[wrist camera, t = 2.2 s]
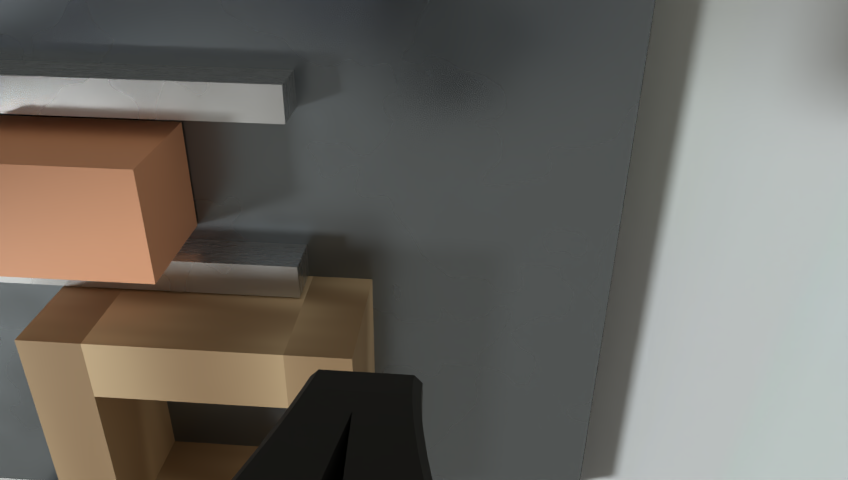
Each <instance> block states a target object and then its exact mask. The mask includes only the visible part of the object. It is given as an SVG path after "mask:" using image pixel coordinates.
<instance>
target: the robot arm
mask: <svg viewBox="0 0 848 480" xmlns="http://www.w3.org/2000/svg"><path fill="white" fill-rule="evenodd" d="M422 399H423V383H422V382H421V381H420V380H419V379H418V378H417V377H416V376H415V375H406V374H389V373H372V372H355V371H338V370H321V369H319V370H317V371H316V372H315V373H314V374H312V375H311V376H310V377H309V379H308V380H307V382H306V383H305V385H304V386H303V388H302V389H301V390H300V392H299V393H298V395H297V396H296V397H295V399H294V400H293V402H292V403H291V404H290V406H289V407H288V409H287V410H286V411H285V413H284V414H283V415H282V417H281V418H280V419H279V421H278V422H277V423H276V425H275V426H274V427H273V429H272V430H271V431H270V432H269V434H268V435H267V436H266V438H265V439H264V440H263V442H262V443H261V444H260V445H259V447H258V448H257V449H256V450H255V452H254V453H253V454H252V455H251V456H250V458H249V459H248V460H247V461H246V462H245V464H244V465H243V466H242V467H241V469H240V470H239V471H238V472H237V473H236V475H235V476H234V477H233V478H232V479H231V480H433V479H432V475H431V470H430V466H429V461H428V456H427V450H426V444H425V438H424V431H423V422H422Z"/></svg>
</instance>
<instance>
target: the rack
mask: <svg viewBox="0 0 848 480" xmlns="http://www.w3.org/2000/svg"><path fill="white" fill-rule="evenodd" d="M14 341H15V344H16V347H17V350H18V353H19V356H20V360H21V363H22V366H23V369H24V372H25V375H26V378H27V382H28V385H29V388H30V391H31V394H32V397H33V401H34V404H35V407H36V410H37V413H38V416H39V420H40V423H41V426H42V429H43V432H44V435H45V438H46V442H47V445H48V448H49V451H50V454H51V457H52V461H53V464H54V467H55V470H56V473H57V476H58V480H231V479H232V478H233V477H234V476H235V475H236V473H237V472H238V471H239V470H240V469H241V467H242V466H243V465H244V464H245V462H246V461H247V460H248V459H249V458H250V456H251V455H252V454H253V453H254V452H255V450H256V449H257V448H258V447H259V446H243V445H227V444H212V443H196V442H180V441H175V439H174V434H173V429H172V424H171V419H170V414H169V409H168V404H167V401H176V402H192V403H209V404H225V405H242V406H258V407H275V408H288V407H289V406H290V404H291V403H292V402H293V400H294V399H295V397H296V396H297V395H298V393H299V392H300V390H301V389H302V388H303V386H304V385H305V383H306V382H307V380H308V379H309V377H310V376H311V375H312V374H314V373H315V372H316V371H317V370H319V369H321V370H338V371H355V372H372V373H375V361H374V324H373V286H372V279H359V278H339V277H319V276H308V278H307V281H306V283H305V286H304V288H303V291H302V293H301V296H300V298H295V297H275V296H256V295H237V294H217V293H198V292H178V291H159V290H140V289H120V288H101V287H81V286H63V287H62V288H61V289H60V290H59V292H58V293H57V294H56V295H55V296H54V297H53V298H52V299H51V300H50V301H49V303H48V304H47V305H46V306H45V307H44V308H43V309H42V310H41V311H40V312H39V314H38V315H37V316H36V317H35V318H34V319H33V320H32V321H31V322H30V323H29V325H28V326H27V327H26V328H25V329H24V330H23V331H22V332H21V333H20V334H19V336H18V337H17V338H16V339H15V340H14Z"/></svg>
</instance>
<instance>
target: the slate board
mask: <svg viewBox="0 0 848 480" xmlns="http://www.w3.org/2000/svg"><path fill="white" fill-rule="evenodd" d="M654 5H655V0H0V115H11V116H37V117H63V118H90V119H116V120H143V121H169V122H181V123H182V129H183V136H184V142H185V148H186V155H187V161H188V168H189V174H190V181H191V187H192V194H193V200H194V207H195V213H196V220H197V227H196V228H195V230H194V231H193V232H192V234H191V235H190V237H189V238H188V239H187V241H186V242H185V244H184V245H183V246H182V248H181V249H180V251H179V252H178V253H177V255H176V256H175V258H174V259H173V260H172V262H171V263H170V265H169V266H168V267H167V269H166V270H165V272H164V273H163V274H162V276H161V277H160V278H159V280H158V281H157V283H156V284H140V283H120V282H100V281H81V280H61V279H42V278H22V277H3V276H0V478H14V479H29V480H58V476H57V473H56V470H55V467H54V464H53V461H52V457H51V454H50V451H49V448H48V445H47V442H46V438H45V435H44V432H43V429H42V426H41V423H40V420H39V416H38V413H37V410H36V407H35V404H34V401H33V397H32V394H31V391H30V388H29V385H28V382H27V378H26V375H25V372H24V369H23V366H22V363H21V360H20V356H19V353H18V350H17V347H16V344H15V341H14V340H15V339H16V338H17V337H18V336H19V334H20V333H21V332H22V331H23V330H24V329H25V328H26V327H27V326H28V325H29V323H30V322H31V321H32V320H33V319H34V318H35V317H36V316H37V315H38V314H39V312H40V311H41V310H42V309H43V308H44V307H45V306H46V305H47V304H48V303H49V301H50V300H51V299H52V298H53V297H54V296H55V295H56V294H57V293H58V292H59V290H60V289H61V288H62V287H63V286H81V287H101V288H120V289H140V290H159V291H178V292H198V293H217V294H237V295H256V296H275V297H295V298H300V296H301V293H302V291H303V288H304V286H305V283H306V281H307V278H308V276H319V277H339V278H359V279H372V286H373V324H374V361H375V373H389V374H406V375H415V376H416V377H417V378H418V379H419V380H420V381H421V382H422V383H423V399H422V422H423V431H424V438H425V444H426V450H427V456H428V461H429V466H430V470H431V475H432V479H433V480H580V475H581V469H582V463H583V456H584V450H585V444H586V437H587V431H588V425H589V418H590V412H591V405H592V399H593V393H594V386H595V380H596V374H597V367H598V361H599V355H600V348H601V342H602V336H603V329H604V323H605V317H606V310H607V304H608V297H609V291H610V285H611V278H612V272H613V266H614V259H615V253H616V247H617V240H618V234H619V228H620V221H621V215H622V209H623V202H624V196H625V190H626V183H627V177H628V170H629V164H630V158H631V151H632V145H633V139H634V132H635V126H636V120H637V113H638V107H639V101H640V94H641V88H642V82H643V75H644V69H645V63H646V56H647V50H648V43H649V37H650V31H651V24H652V18H653V12H654ZM167 404H168V409H169V414H170V419H171V424H172V429H173V434H174V439H175V441H180V442H196V443H212V444H227V445H243V446H259V445H260V444H261V443H262V442H263V440H264V439H265V438H266V436H267V435H268V434H269V432H270V431H271V430H272V429H273V427H274V426H275V425H276V423H277V422H278V421H279V419H280V418H281V417H282V415H283V414H284V413H285V411H286V410H287V409H288V408H275V407H258V406H242V405H225V404H209V403H192V402H176V401H167Z"/></svg>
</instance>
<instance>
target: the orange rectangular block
mask: <svg viewBox="0 0 848 480" xmlns="http://www.w3.org/2000/svg"><path fill="white" fill-rule="evenodd" d="M196 227H197V220H196V213H195V207H194V200H193V194H192V187H191V181H190V174H189V168H188V161H187V155H186V148H185V142H184V136H183V129H182V123H181V122H169V121H143V120H116V119H90V118H63V117H37V116H11V115H0V276H3V277H22V278H42V279H61V280H81V281H100V282H120V283H140V284H156V283H157V281H158V280H159V278H160V277H161V276H162V274H163V273H164V272H165V270H166V269H167V267H168V266H169V265H170V263H171V262H172V260H173V259H174V258H175V256H176V255H177V253H178V252H179V251H180V249H181V248H182V246H183V245H184V244H185V242H186V241H187V239H188V238H189V237H190V235H191V234H192V232H193V231H194V230H195V228H196Z"/></svg>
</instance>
